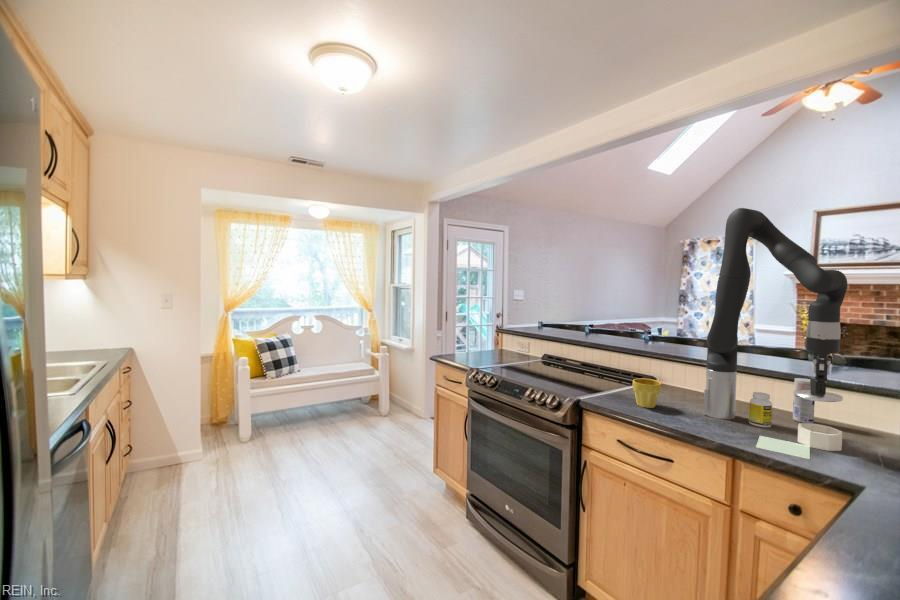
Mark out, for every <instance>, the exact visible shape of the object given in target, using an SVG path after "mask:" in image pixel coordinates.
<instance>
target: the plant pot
mask: <svg viewBox="0 0 900 600" xmlns="http://www.w3.org/2000/svg"><path fill="white" fill-rule="evenodd" d="M632 389H633V392H634V394H635V395H634V396H635V400H636V405H637V406H638V405H639V406H638V407H641V408H645V407H646V409H653V408H655V407H656V404H657V401H658V398H659V394H660V393H661V391H662V382H660V381H659V380H656V379H651V378H642V377H641V378H634V379H633V380H632Z"/></svg>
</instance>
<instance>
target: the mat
mask: <svg viewBox="0 0 900 600" xmlns="http://www.w3.org/2000/svg"><path fill="white" fill-rule="evenodd" d="M758 437H759V438H758V440H757V443H756V445H755V448H757V449H762V450H766V451H770V452H775V453H780V454H784V455H788V456H792V457H797V458H802V459H805V460H810V457H811V453H810V452H811V447H809V446H807V445H804V444H802V443H799V442H798V443H797V442H793V441H787V440H784V439H779V438H775V437H773V438H772V437H769V436H768V437H767V436H763V435H759V436H758Z"/></svg>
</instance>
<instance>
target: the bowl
mask: <svg viewBox="0 0 900 600" xmlns="http://www.w3.org/2000/svg"><path fill="white" fill-rule="evenodd" d="M797 442H798V443H799V444H803V445H807V446H809V447H810V448H812V449H813V448H814V449H817V450H821V451H827V452H832V451H833V452H835V451H838V452H840V451H842V450H843V431H842V430H840V429H837V428H834V427H832V426H829V425H825V424H818V423H814V422H813V423H802V422H799V423H798V425H797ZM797 442H796V443H797Z"/></svg>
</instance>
